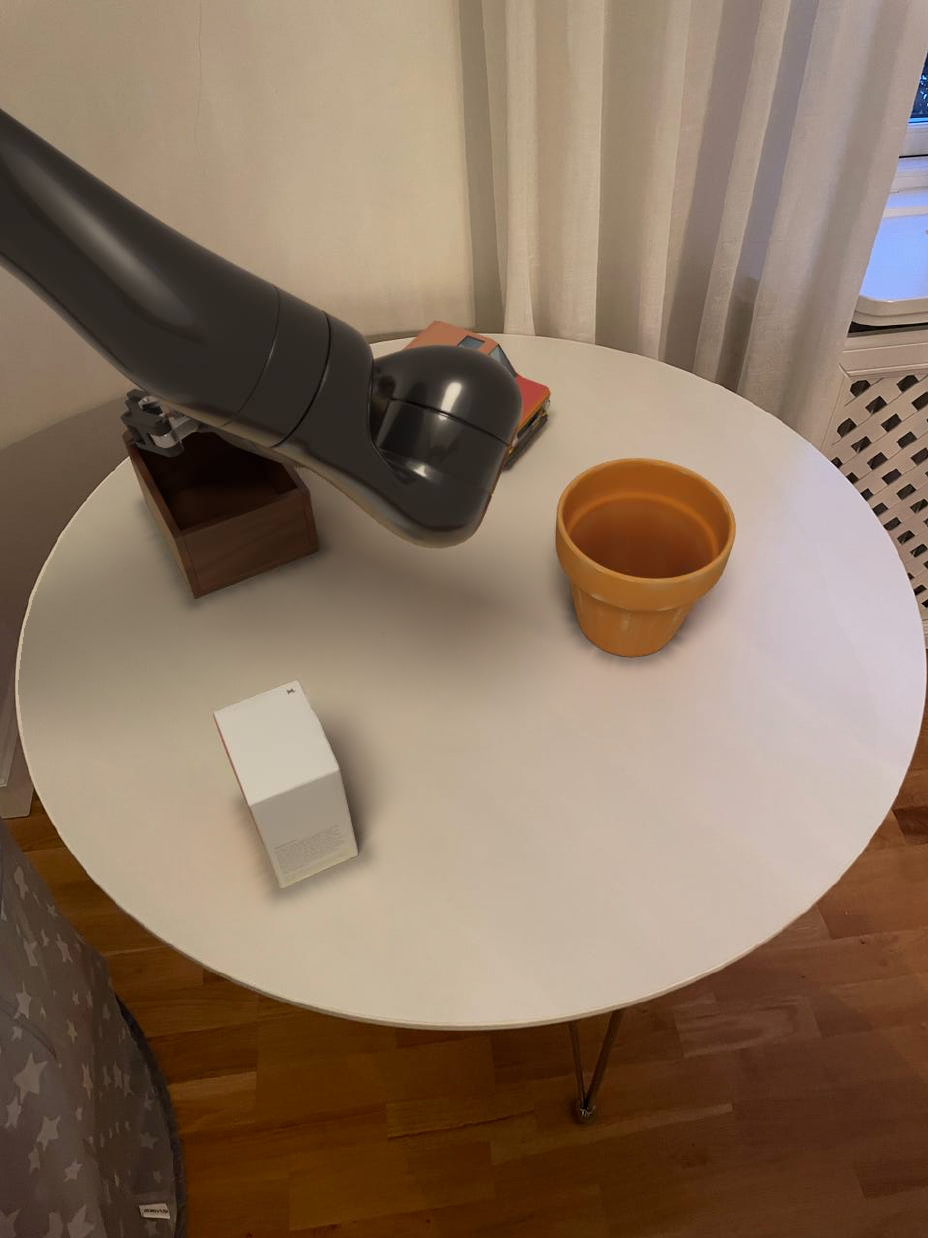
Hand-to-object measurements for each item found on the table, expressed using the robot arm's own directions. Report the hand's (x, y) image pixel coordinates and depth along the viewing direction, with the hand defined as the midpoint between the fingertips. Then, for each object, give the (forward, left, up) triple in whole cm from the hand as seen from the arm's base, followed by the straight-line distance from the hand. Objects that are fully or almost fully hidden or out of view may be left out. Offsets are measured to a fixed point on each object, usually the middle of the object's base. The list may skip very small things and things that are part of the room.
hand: (181, 375), depth 73 cm
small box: (+5, -29, -21) cm, 37 cm away
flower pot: (+35, -13, -21) cm, 43 cm away
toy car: (+25, +16, -21) cm, 36 cm away
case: (0, +5, -21) cm, 21 cm away
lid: (-1, +6, -8) cm, 10 cm away
